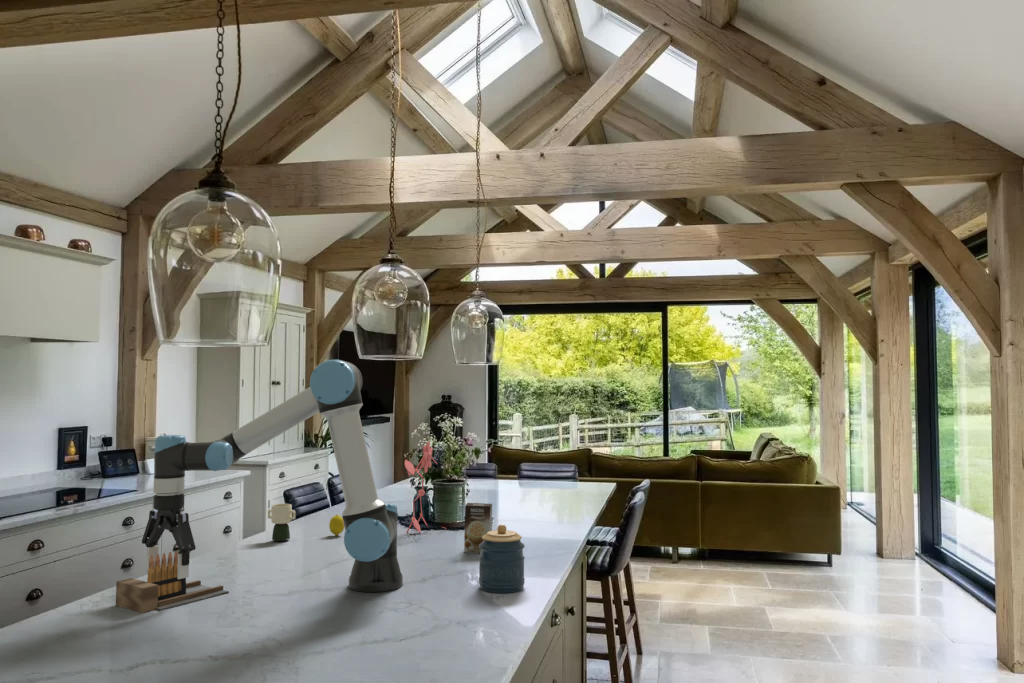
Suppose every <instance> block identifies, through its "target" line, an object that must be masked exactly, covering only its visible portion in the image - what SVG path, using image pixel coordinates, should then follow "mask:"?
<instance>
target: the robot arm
mask: <svg viewBox="0 0 1024 683" xmlns="http://www.w3.org/2000/svg"><path fill="white" fill-rule="evenodd" d="M362 375H363V374H362V372H361V371H360V369H359V368H358V367H357V366H356V365H355V364H354V363H352V362H349V361H345V360H341V359H338V358H337V359H329V360H326V361H322V362H321V363H319V364H318V365H317V366H316V367H315V368H314V370H312V373H311V375H310V378H309V387H306V388H305V389H304V390H302V391H301V392H299V393H297V394H296V395H293V396H292V397H290V398H288V399H287V400H285V401H284V402H282V403H280V404H278V405H277V406H275V407H273V408H271V409H269V410H268V411H266V412H265V413H263V414H262V415H260V416H257V417H256V418H255V419H253V420H251V421H249V422H247V423H246V424H245V425H242V426H240V427H239V428H237V429H236V430H234V431H233V432H230V433H229V434H227V435H225V436H223V437H222V438H220V439H218V440H211V441H207V442H205V441H203V442H189V441H187V439H186V436H185V435H183V434H167V435H166V434H165V435H158V436H157V437H156V438H155V441H154V443H155V444H154V452H153V455H154V456H153V458H154V463H153V464H154V465H153V468H154V470H153V471H154V473H153V474H154V475H153V490H152V491H153V493H154V496H153V501H152V502H153V503H152V505H153V508H152V510H151V509H150V510H149V513H148V521H147V524H146V527H145V529H144V533H143V536H142V539H141V544H142V545H145V547H146V561H147V562H146V573H148V570H149V561H150V557H151V555H152V556H153V559H154V570H155V561H156V557H157V554H159V540H160V539H161V537H162V535H163V533H164V532H165V530H167V531H168V532H169V533H171V534H172V537H173V539H174V541H175V544H176V546H177V548H178V550H179V551H177V552H178V572H177V579H182V578H186V579H187V578H189V577H190V576H189V574H190V573H189V572H190V571H189V570H190V557H191V556H190V553H191V552H192V551H195V550H196V547H197V546H196V544H195V540H194V536H193V533H192V529H191V528H192V527H191V526H190V520H189V513H188V512H184V513H181V509H183V508H184V507H185V494H184V493H183V492H185V481H186V480H185V477H186V471H187V472H188V471H189V472H190V471H191V472H192V471H195V472H197V471H200V472H201V471H205V472H206V471H209V472H211V471H213V472H217V471H226V470H228V469H230V468H231V466H232V465H233V464H235V463H237V462H238V461H239V460H240V459H241V458H243V457H245V456H246V455H248V454H250V453H251V452H253V451H255V450H257V449H258V448H260V447H262V446H263V445H265V444H267V443H269V442H270V441H272V440H273V439H275V438H277V437H279V436H280V435H282V434H283V433H285V432H287V431H289V430H291V429H292V428H294V427H296V426H297V425H299V424H301V423H302V422H303V423H304V421H307V419H309V418H311V417H313V416H314V415H316V414H318V413H319V415H321V416H322V417H324V418H325V419H326V420H327V425H328V430H329V434H330V438H331V443H332V444H331V445H332V448H333V452H334V457H335V462H336V465H337V466H336V467H337V471H338V475H339V476H338V477H339V480H340V481H339V482H340V484H341V488H342V489H341V490H342V495H343V498H344V503H345V508H344V510H343V511H342V513H341V517H342V518H343V522H344V536H343V544H344V548H345V550H346V552H347V554H349V556H350V557H352V558H353V559H354V563H353V564H352V569H351V572H350V575H349V577H348V588H349V589H351V590H353V591H356V592H364V593H377V592H378V593H379V592H381V593H382V592H388V591H393V590H396V589H399V588H401V587H402V586H403V584H404V581H403V580H404V578H403V577H404V576H403V574H402V572H401V568H400V564H399V560H398V516H399V512H398V506H397V504H395V503H385V502H384V501H383V500H381V499H379V497H378V493H377V487H376V484H375V483H376V482H375V478H374V476H373V475H374V474H373V470H372V465H371V461H370V458H369V457H370V456H369V452H368V448H367V443H366V439H365V433H364V430H363V429H364V428H363V425H362V420H361V417H360V410H361V408H362V407H363V406H364V404H363V399H362V393H361V390H362V388H363V376H362Z"/></svg>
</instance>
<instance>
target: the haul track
mask: <svg viewBox="0 0 1024 683" xmlns="http://www.w3.org/2000/svg"><path fill="white" fill-rule="evenodd" d="M201 583H202V580H199V579H198V580H193V581H188V582H186V594H184V595H180V596H176V597H172V598H168V599H164V600H160V601H158V585H157V584H153V583H149V582H147V581H144V580H139V579H135V578H133V577H131V578H127V579H122V580H118V581H116V583H115V585H116V586H115V587H116V589H115V606H117V607H121V608H124V609H128V610H130V611H134V612H137V613H141V614H143V613H147V612H152V611H156V610H157V611H158V612H159V611H160V612H162V611H165V610H168V609H172V608H176V607H181V606H184V605H188V604H191V603H196V602H199V601H203V600H206V599H210V598H214V597H218V596H221V595H226V594H229V590H225V589H224V586H223V585H216V586H207V585H204V584H201Z"/></svg>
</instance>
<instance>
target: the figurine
mask: <svg viewBox="0 0 1024 683" xmlns="http://www.w3.org/2000/svg"><path fill="white" fill-rule="evenodd" d="M422 452H423V454H422V458H421V459H420V461H419V463H418V464H417V466H416V467H415V466H414V465H413V463H412V462H410V461H409V460H408V459H405V460H404V467H405V469H406V470H407V475H408V476H409V477H410V476H411V475H412V476H413V477H414V476H415V472H416V473H417V474H418V475H419V476H420V477H421V489H419V490H418V491H417V494H418V496H417V497H416V498H415V499H414V500H413V501H412V502H413V503H412V504H413V507H412V508H413V516H411V522H410V525H409V526H408V528H407V530H406V533H409V532H410V529H411V526H412V525H413V528H414V529H415V530H416V531H417V532H418V533H419V534H421V526H420V524H419V522H420V520H421V519H422V521H423V522H424V524H425V525H426V527H427V528H429V526H428V525H429V524H428V523H427V522H426V520H425V518H424V515H423V508H422V507H423V506H422V497H423V496H425V494H426V492H425V490H424V476H423V475H422V474H421V473H420V472H421V470H422V469H423V468H424V469H423V470H424V471H423V472H424V474H426V473H428V471H429V470H428V468H429V469H431V468H432V460H433V462H434V463H435V464H436V465H438V462H437V461H436V460H435V459H434V457H433V456H432V455H433V446H431V442H430V441H428V442H427V443H426V445H423V448H422ZM418 468H419V469H418ZM419 471H420V472H419ZM417 499H419V501H420V511H421V512H420V513H419V515H420V516H419V517H418V518H416V517H415V501H417ZM417 519H418V520H417ZM442 528H444V529H445V531H442V532H441V534H442V533H444V532H446V530H447V528H446V527H443V526H442ZM437 534H438V535H439V534H440V532H438V533H437Z"/></svg>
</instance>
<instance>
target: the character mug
mask: <svg viewBox="0 0 1024 683" xmlns="http://www.w3.org/2000/svg"><path fill="white" fill-rule="evenodd" d="M292 506H293V505H292V504H291V503H275V504H272V505H271V508H270V509H268V510H267V519H270V520H271V523H272V524H274V525H273V530H272V535H271V536H272V537H271V540H272V541H276V542H280V541H283V542H285V541H287V540H289V539H291V535H290V534H291V533H290V526H289V524H288V523H290V522H292V520H296V512H297V511H296V509H295V510H294V509H292V508H293V507H292Z"/></svg>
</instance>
